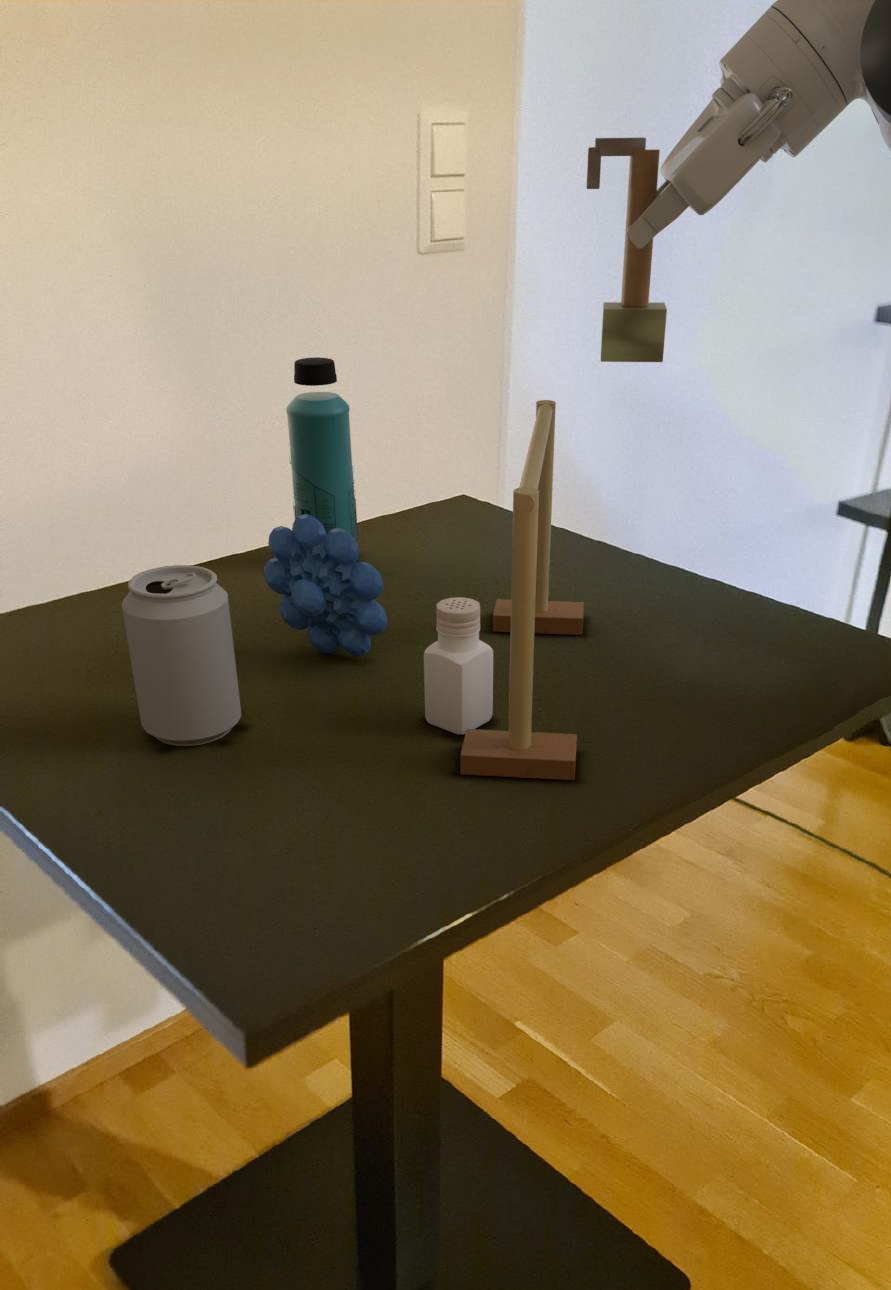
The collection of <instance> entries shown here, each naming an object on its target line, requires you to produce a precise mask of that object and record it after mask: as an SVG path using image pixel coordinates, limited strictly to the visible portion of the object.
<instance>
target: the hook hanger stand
mask: <svg viewBox="0 0 891 1290" xmlns="http://www.w3.org/2000/svg"><path fill="white" fill-rule="evenodd" d="M594 142H595V143H594V146H589V147H588V148H587V168H586V169H587V171H586V189H587V190H599V189H600V187H601V186H600V185H601V167H602V165H601V164H602V157H629V168H628V185H627V198H626V199H627V200H626V216H625V217H626V218H625V231H624V232H625V233H624V249H623V266H622V281H621V295H620V296H621V297H620V298H621V299H620V302H616V301H615V302H612V301H610V302H606V301H604V302H603V304H602V319H601V320H602V324H601V338H600V340H601V342H600V362H601V363H664V349H665V339H666V327H667V326H666V325H667V315H668V313H667V312H668V308H667V305H666V303H665V302H649V299H650V287H651V276H652V275H651V273H652V262H653V261H652V260H653V249H654V248H653V247H654V238H653V239H652V240H651V241H650V242H649V243H648V244H647V245H646V246H645V247H644V248H642V249H640V248H637V247H636V246H635V245H634V244H633V243H632V241H631V240H630V239H629V238H628V236H627V230H628V228H629V227H630V226H631V225H632V224H633V223H634V222H635V220H636V219H637V218H638V217H639V216H640V215H641V214H643V213H644V211H645V210H646V209H647V208H648V207H649V206H650V205H651V203H652V202H653V201H654V200H655V199H656V194H657V189H658V181H659V166H660V165H659V164H660V154H661V153H660V152H661V151H660V149H659V148H658V149H656V148H655V149H653V148H651V149H650V148H649V149H646V144H647V138H646V137H596V138H595V140H594Z"/></svg>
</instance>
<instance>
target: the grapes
mask: <svg viewBox="0 0 891 1290" xmlns="http://www.w3.org/2000/svg"><path fill="white" fill-rule="evenodd" d="M294 520H295V519H294ZM267 543H268V548H269V551H270V553H271V554H272V556H273V557H272V558H269V559H268V561H267V562H266V563H265V564H264V566H263V577H264V580H265V582H266V584H267V586H268V587H269V588H270V589H271V590H272V591H274V592H275V593H276V594H279V595H283V597H282V598H281V600H280V601H279V609H278V611H279V614H280V617H281V618H282V620H283V622H284V623H285V624H286V625H288V627H290V628H292V629H294V630H298V631H302V630H304V629H307V637H308V640H309V642H310V644H311V645H312V647H314V648H315V649H316V650H317V651H318V652H320V653H322V654H326V655H330V654H333V653H336V652H337V651H338V650H339V648H341V649H342V650H343V651H344V652H345V653H347V654H348V655H349V656H353V657H362V656H365V655H366V654H367V653H368V651H369V650H370V648H371V641H372V639H371V636H372V637H377V636H378V635H382V634H383V633H384V632H385V630H386V629H387V628H388V616H387V613H386V611H385V609H384V607H383V606H382V605H381V604H380V603H379V602H377V601H376V599H378V598H379V597H380V595H381V594H382V593H383V591H384V581H383V579H382V576H381V573H380V571H379V570H378V569H376V568H375V567H374V565H372V564H371V563H368V562H366V561H365V562H364V561H359V562H357V561H358V560H359V558H360V548H359V546H358V543H357V541H356V540H355V538H354V537H353V536H352V535H350V534H349V533H348V532H347V531H346V530H343V529H339V528H336V529H333V530H330V531H329V532H328V534H326V531H325V529H324V527H323V524H322V523H321V522H319V521H318V520H317V519H316V518H315V517H313V516H310V515H307V514H304V515H300V516H298V517H297V518H296V520H295V521H293V523H292V526H291V528H289V527H286V526H282V525H280V526H277V527H274V528H273V529H272V530H271V532H270V533H269V535H268V541H267Z"/></svg>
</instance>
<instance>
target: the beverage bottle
mask: <svg viewBox="0 0 891 1290" xmlns="http://www.w3.org/2000/svg"><path fill="white" fill-rule="evenodd" d="M293 367H294V369H293V370H294V373H293V383H294V384H296V385H299V386H308V387H309V386H310V387H311V386H312V387H319V386H328V385H332V384H335V383H337V382H338V376H337V373H336V372H337V371H336V363H335V361H334V359H332V358H328V357H318V356H317V357H303V358H299V359H297V360H295V361H294V366H293ZM350 409H351V408H350V405H349V404H348V402H347V401H346V400H345V399H344V398H343V397H341V396H340V394H337V393H336V392H330V391H309V392H304V393H299V394H297V395H295V397H293V398H292V400H290V402H289V403H288V404H287V406H286V408H285V413H286V415H287V417H286V419H287V427H288V428H287V429H288V439H289V443H288V445H289V456H288V457H289V459H288V462H289V464H290V466H291V475H292V476H291V478H292V483H291V485H292V494H293V496H292V498H293V502H292V507H293V508H292V509H293V511H294V513H293V517H294V519H293V520H294V521H295V520H296V518H297V517H298V516H300V515H304V514H307V515H310V516H313V517H315V518H316V519H317V520H318V521H319V522H321V523H322V524H323V527H324V529H325V531H326V534H328V532H329V531H330V530H333V529H336V528H339V529H343V530H346V531H347V532H348V533H349V534H350V535H352V536H353V537H354V538H355V540H356V542H357V541H358V539H359V537H358V536H359V534H358V533H359V529H358V514H357V505H358V504H357V503H356V502H357V498H356V497H355V493H356V487H355V482H356V480H355V479H356V478H354V470H355V469H354V468H355V467H354V466H353V458H352V457H353V456H352V441H351V424H350V422H351V421H350ZM294 521H293V522H294Z"/></svg>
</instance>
